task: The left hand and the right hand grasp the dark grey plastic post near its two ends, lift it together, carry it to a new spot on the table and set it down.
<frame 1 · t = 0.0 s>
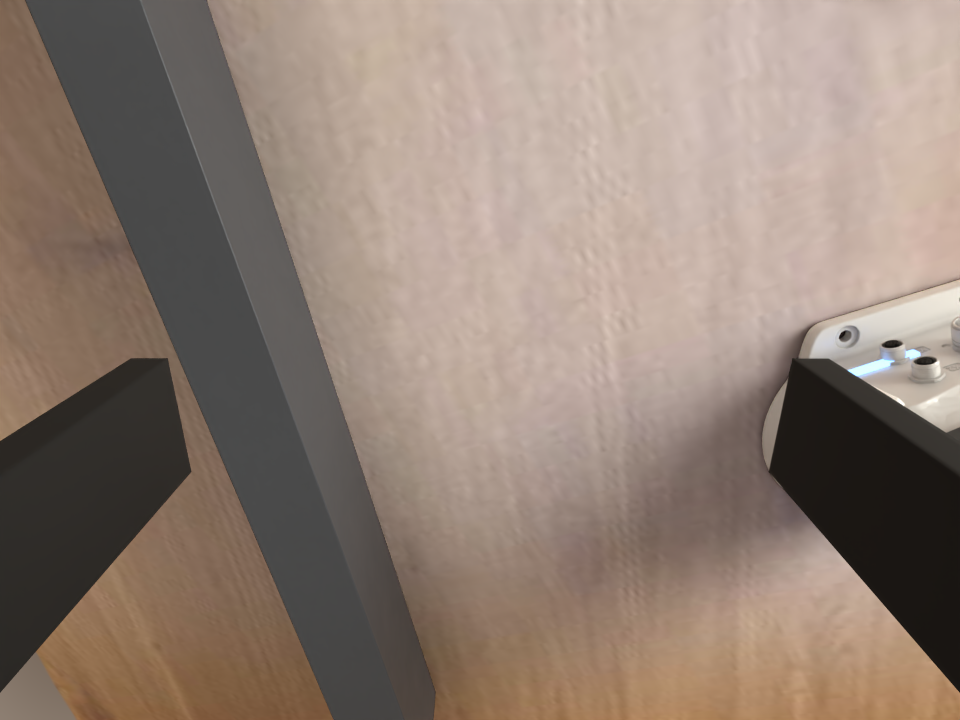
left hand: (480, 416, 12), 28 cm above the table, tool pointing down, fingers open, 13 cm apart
post: (294, 376, 42), on the table
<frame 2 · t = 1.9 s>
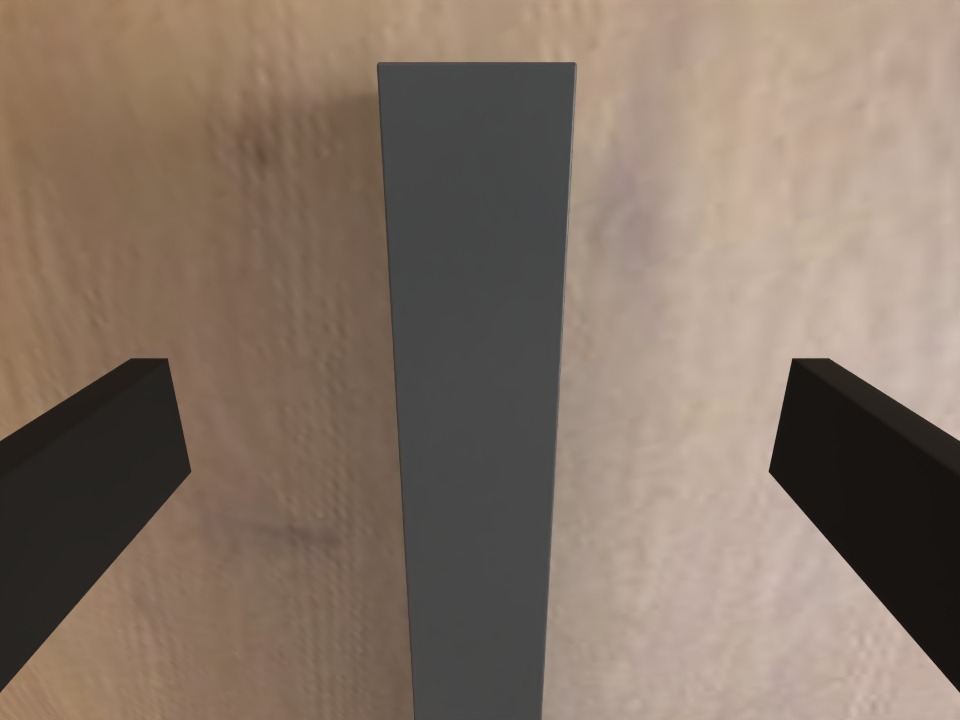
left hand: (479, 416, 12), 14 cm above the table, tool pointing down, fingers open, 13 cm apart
post: (478, 696, 35), on the table
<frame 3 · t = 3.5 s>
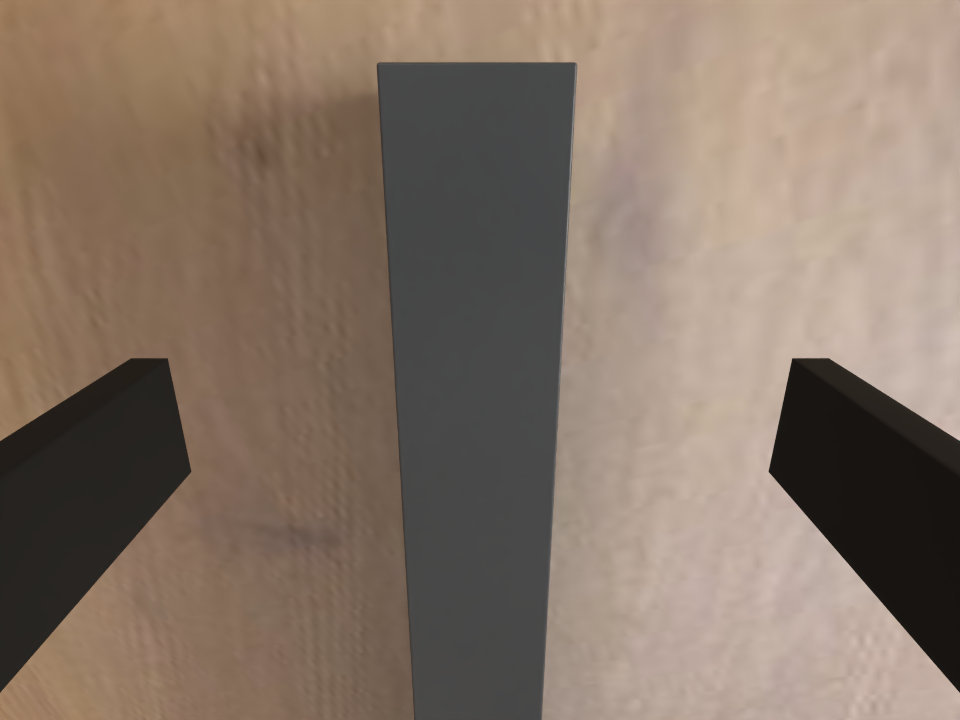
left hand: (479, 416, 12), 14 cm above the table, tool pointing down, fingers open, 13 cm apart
post: (478, 696, 35), on the table, touching right hand
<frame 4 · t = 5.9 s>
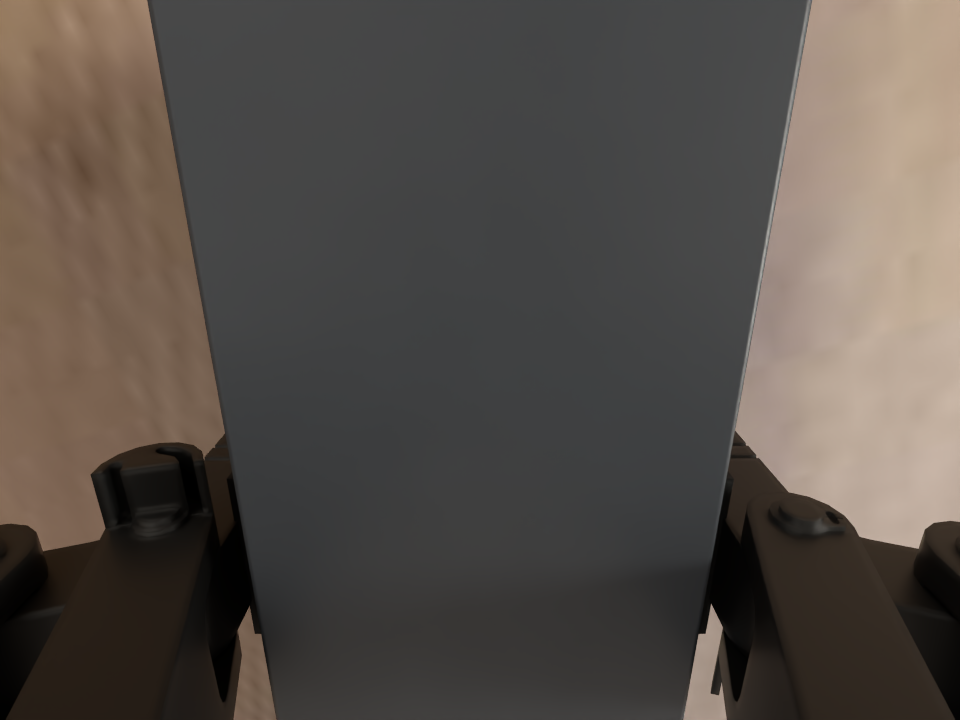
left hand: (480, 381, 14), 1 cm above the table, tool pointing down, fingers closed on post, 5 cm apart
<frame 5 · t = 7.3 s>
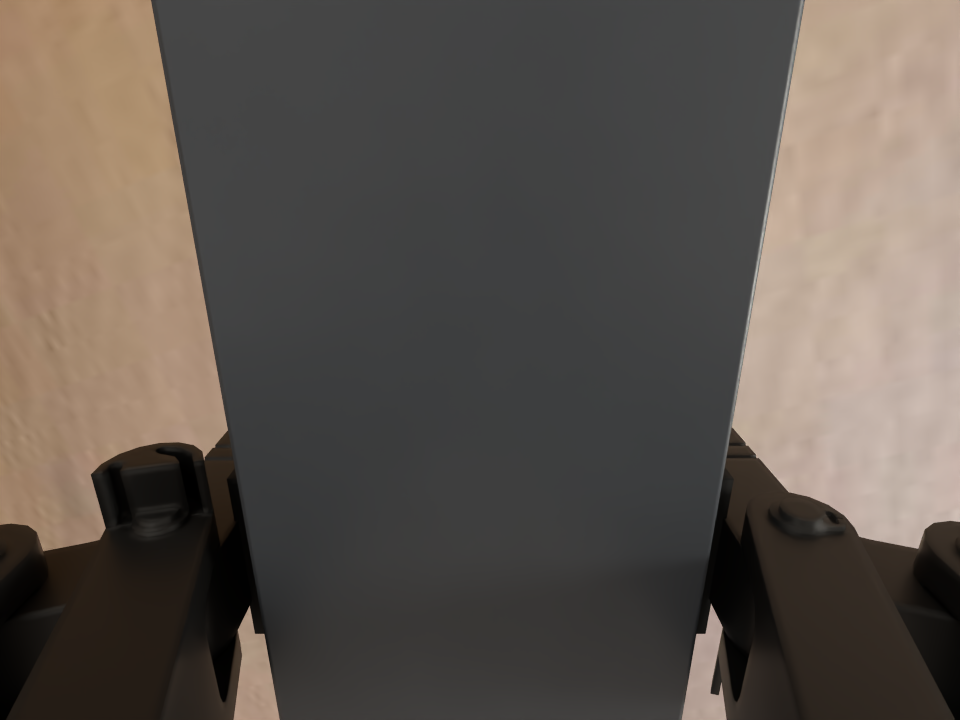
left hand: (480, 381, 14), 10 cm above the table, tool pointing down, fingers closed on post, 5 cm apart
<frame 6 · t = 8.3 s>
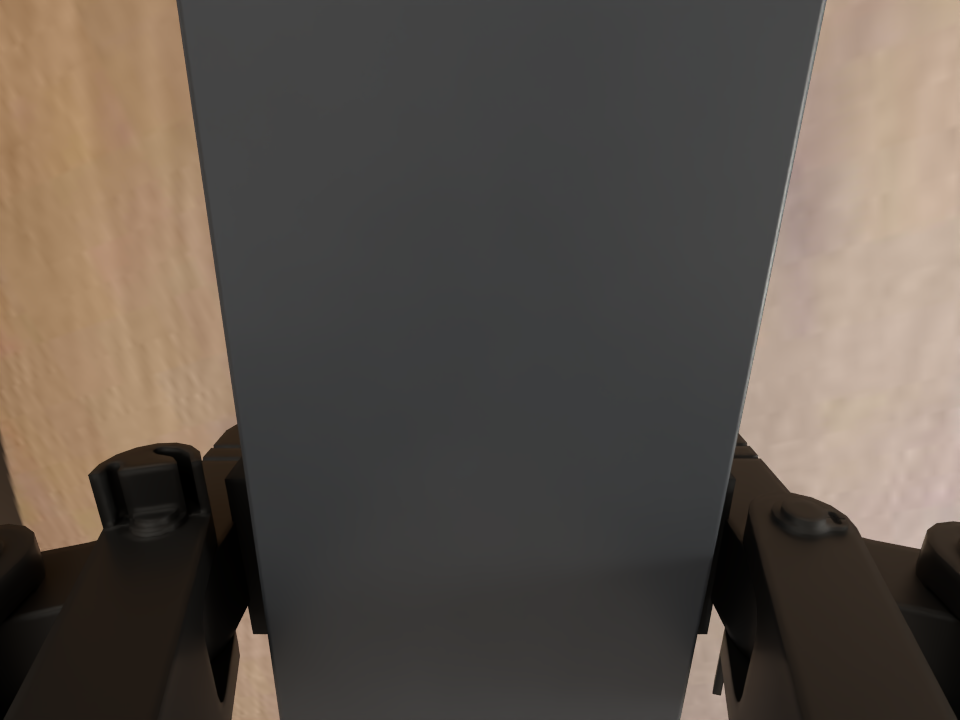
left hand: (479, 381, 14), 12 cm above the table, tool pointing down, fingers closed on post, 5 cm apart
when the left hand's fingers open (2 cm above the table, at t = 11.0 s): post stays where it is, on the table.
when the right hand's fingers open (4 cm above the table, at t = 11.1 s): post stays where it is, on the table.
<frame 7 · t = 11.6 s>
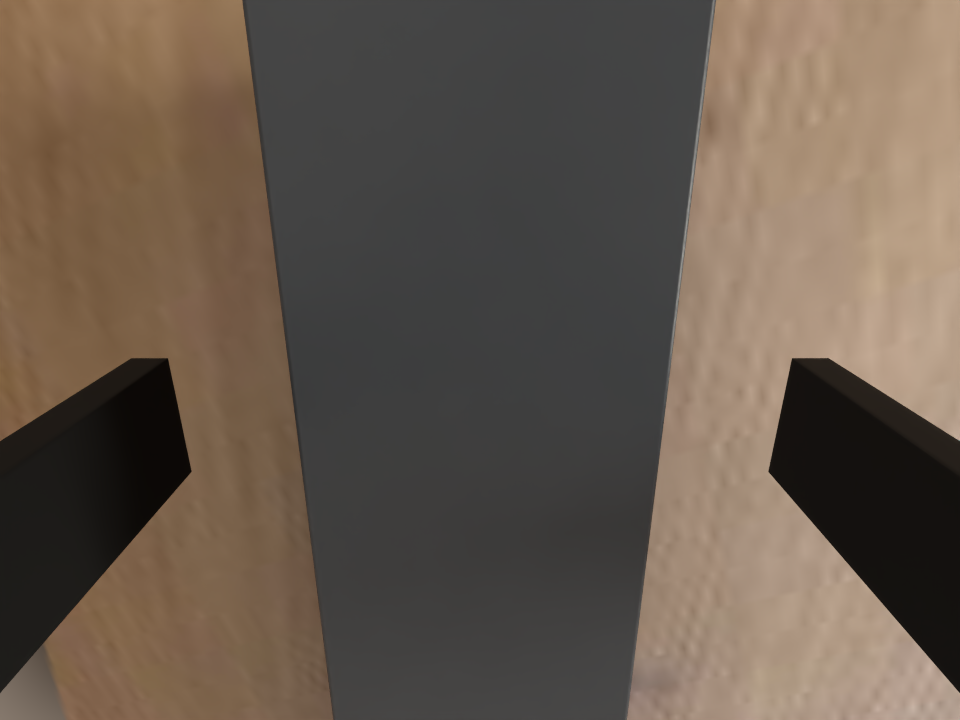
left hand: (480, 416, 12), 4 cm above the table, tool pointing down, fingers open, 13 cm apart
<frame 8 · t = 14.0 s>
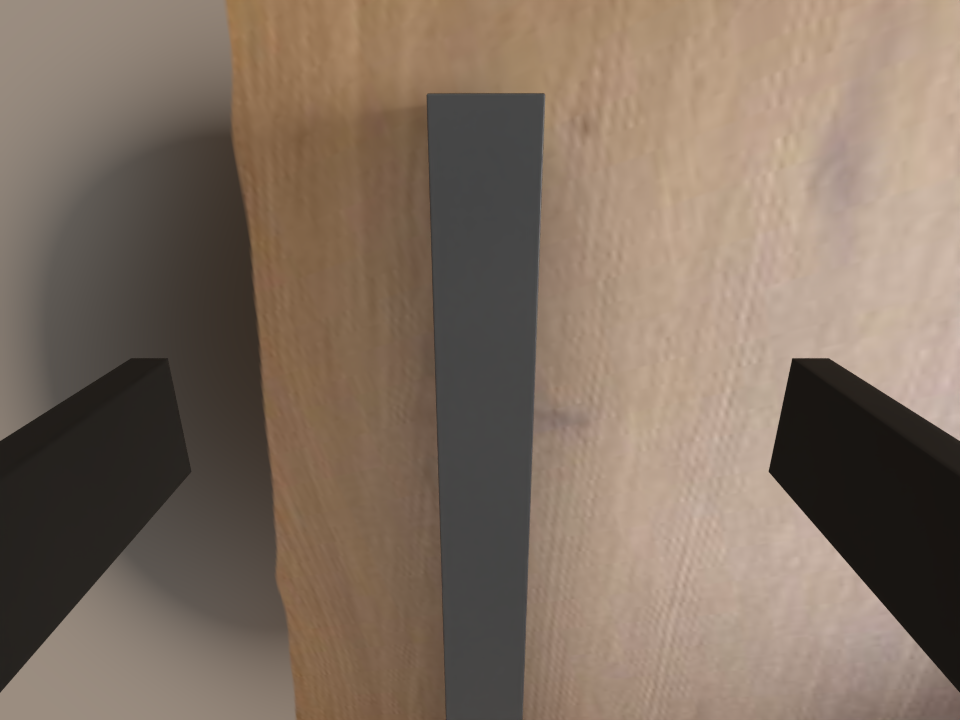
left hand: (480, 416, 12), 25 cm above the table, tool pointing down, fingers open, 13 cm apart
post: (483, 567, 45), on the table
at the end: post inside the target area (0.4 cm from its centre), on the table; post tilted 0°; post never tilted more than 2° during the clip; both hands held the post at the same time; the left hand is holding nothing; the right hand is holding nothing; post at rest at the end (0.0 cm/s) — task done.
